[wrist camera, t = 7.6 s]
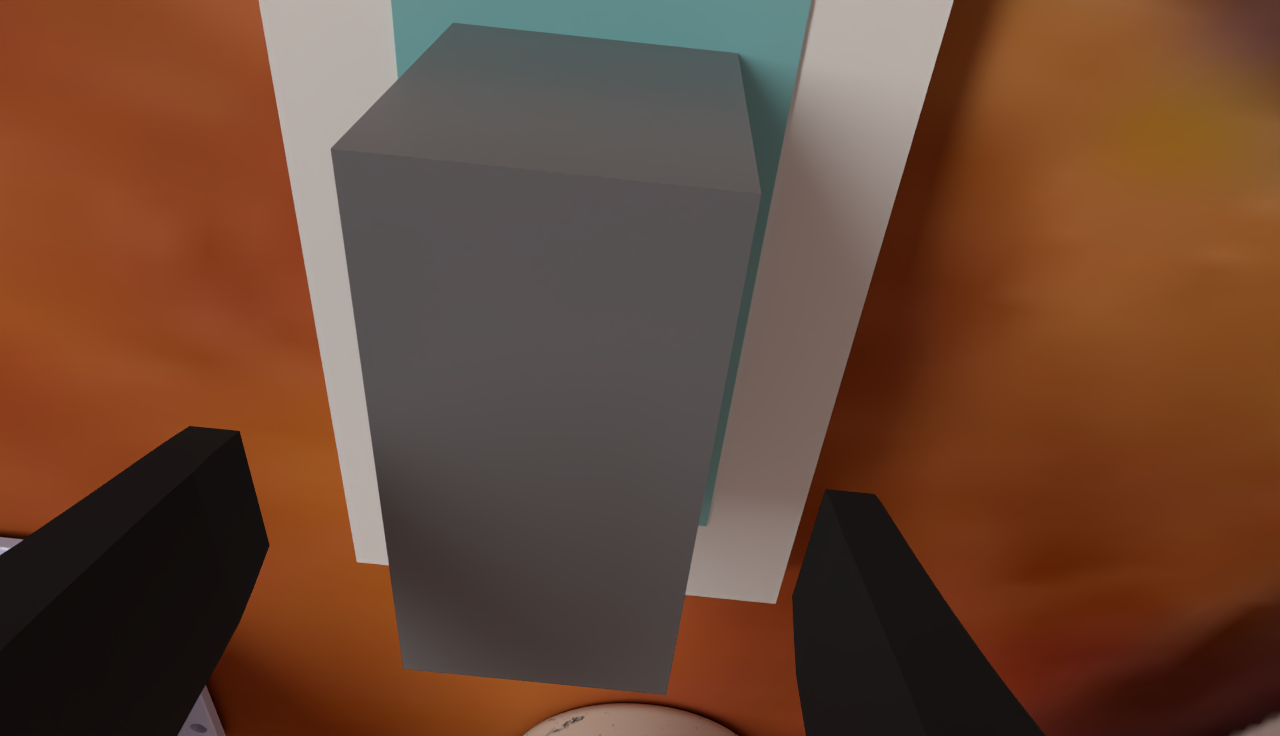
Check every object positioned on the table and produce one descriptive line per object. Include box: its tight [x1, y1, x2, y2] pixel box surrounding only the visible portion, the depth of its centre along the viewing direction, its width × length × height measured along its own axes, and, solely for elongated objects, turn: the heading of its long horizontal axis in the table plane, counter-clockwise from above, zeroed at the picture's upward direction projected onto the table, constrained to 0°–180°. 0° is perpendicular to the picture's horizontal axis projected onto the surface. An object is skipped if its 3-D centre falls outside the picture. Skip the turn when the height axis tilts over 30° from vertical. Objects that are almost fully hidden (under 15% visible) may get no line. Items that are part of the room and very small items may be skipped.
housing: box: [331, 23, 761, 695], centre depth 12 cm, size 9×4×5 cm, turn 175°
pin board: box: [259, 0, 954, 604], centre depth 14 cm, size 16×10×5 cm, turn 175°
